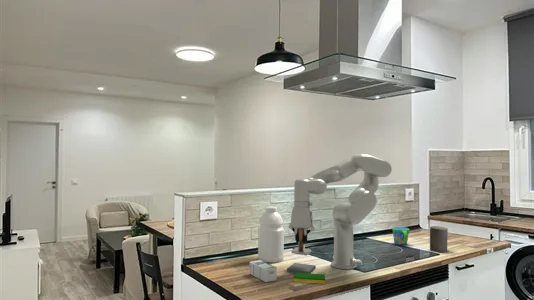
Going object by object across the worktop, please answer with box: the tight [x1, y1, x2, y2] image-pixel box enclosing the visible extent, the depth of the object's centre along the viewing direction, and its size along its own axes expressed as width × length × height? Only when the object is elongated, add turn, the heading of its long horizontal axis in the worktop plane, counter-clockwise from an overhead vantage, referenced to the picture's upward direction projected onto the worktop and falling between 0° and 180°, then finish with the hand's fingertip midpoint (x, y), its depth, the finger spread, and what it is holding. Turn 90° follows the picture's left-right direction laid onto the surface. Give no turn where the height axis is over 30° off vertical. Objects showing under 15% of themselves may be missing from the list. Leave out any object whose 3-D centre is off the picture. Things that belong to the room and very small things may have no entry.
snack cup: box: [391, 226, 410, 246], centre depth 233 cm, size 16×10×10 cm
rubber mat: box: [286, 262, 317, 274], centre depth 176 cm, size 11×11×2 cm
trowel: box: [290, 228, 312, 257], centre depth 176 cm, size 8×6×13 cm
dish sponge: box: [292, 272, 326, 284], centre depth 161 cm, size 7×14×2 cm, turn 82°
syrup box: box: [249, 259, 278, 283], centre depth 165 cm, size 6×6×14 cm
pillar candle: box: [429, 225, 449, 253], centre depth 217 cm, size 10×10×15 cm
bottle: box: [257, 205, 285, 264], centre depth 195 cm, size 14×14×28 cm
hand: (301, 242), depth 176 cm, fingers closed on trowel, 3 cm apart
